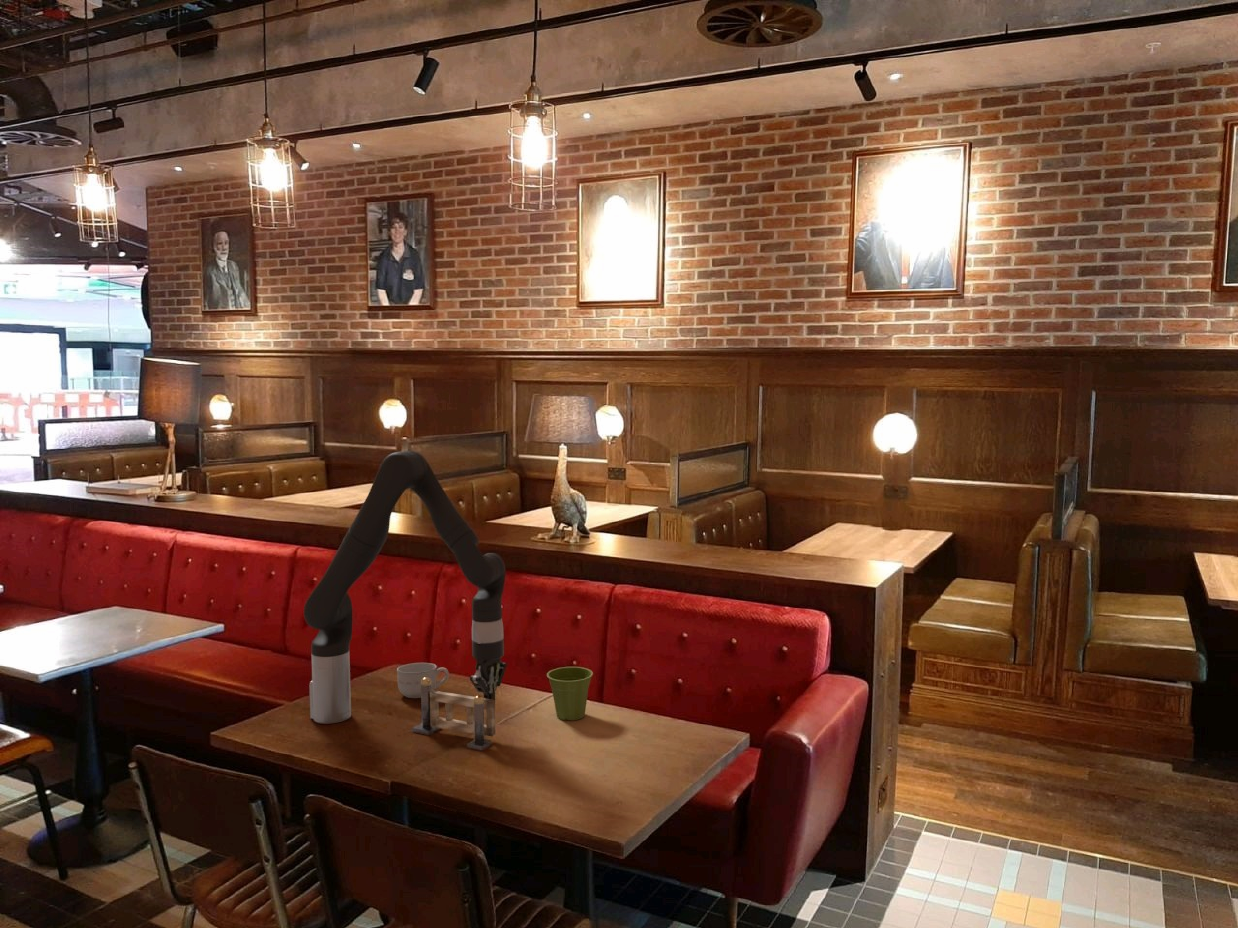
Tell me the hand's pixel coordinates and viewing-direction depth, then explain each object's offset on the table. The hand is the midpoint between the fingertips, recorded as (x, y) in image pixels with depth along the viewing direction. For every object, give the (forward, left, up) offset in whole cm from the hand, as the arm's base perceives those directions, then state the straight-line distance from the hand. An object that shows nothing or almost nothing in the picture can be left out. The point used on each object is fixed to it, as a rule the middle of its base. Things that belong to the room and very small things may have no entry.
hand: (489, 706), depth 223 cm
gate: (-6, -3, -6) cm, 9 cm away
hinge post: (-16, -4, -7) cm, 18 cm away
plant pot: (+11, +20, -7) cm, 24 cm away
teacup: (-33, +16, -7) cm, 37 cm away
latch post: (+2, -7, -7) cm, 10 cm away
